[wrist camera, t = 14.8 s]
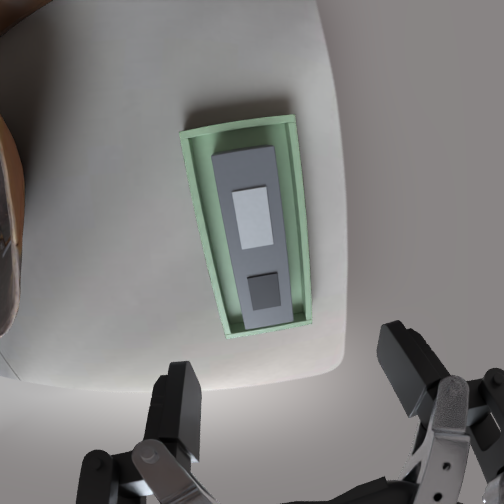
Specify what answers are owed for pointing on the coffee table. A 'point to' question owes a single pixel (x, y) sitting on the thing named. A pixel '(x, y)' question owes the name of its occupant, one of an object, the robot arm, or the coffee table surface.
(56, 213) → the coffee table surface
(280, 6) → the coffee table surface
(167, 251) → the coffee table surface
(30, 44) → the coffee table surface
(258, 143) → the tray
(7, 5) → the brown wooden open box
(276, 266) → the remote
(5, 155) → the bowl
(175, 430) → the robot arm
